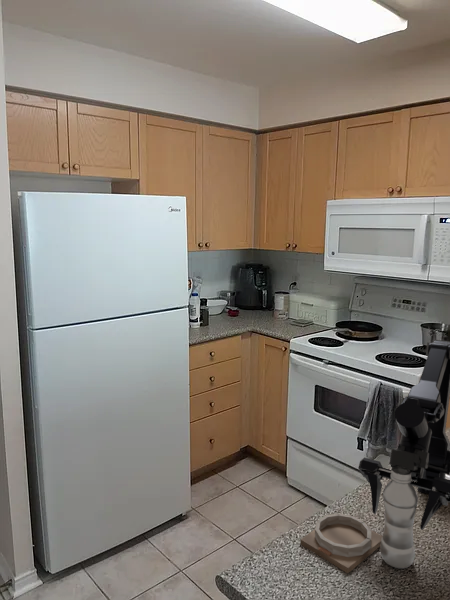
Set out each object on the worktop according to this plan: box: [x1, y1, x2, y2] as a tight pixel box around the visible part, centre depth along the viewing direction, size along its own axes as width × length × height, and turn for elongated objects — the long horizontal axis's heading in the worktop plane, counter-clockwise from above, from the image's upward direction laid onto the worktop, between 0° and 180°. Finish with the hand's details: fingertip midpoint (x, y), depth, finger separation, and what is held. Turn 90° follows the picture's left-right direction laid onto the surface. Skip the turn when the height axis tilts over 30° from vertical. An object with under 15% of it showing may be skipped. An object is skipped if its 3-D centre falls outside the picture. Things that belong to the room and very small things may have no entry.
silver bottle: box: [379, 466, 419, 569], centre depth 96 cm, size 6×7×20 cm
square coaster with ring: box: [299, 513, 383, 574], centre depth 103 cm, size 14×12×3 cm
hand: (397, 521), depth 95 cm, fingers open, 9 cm apart
